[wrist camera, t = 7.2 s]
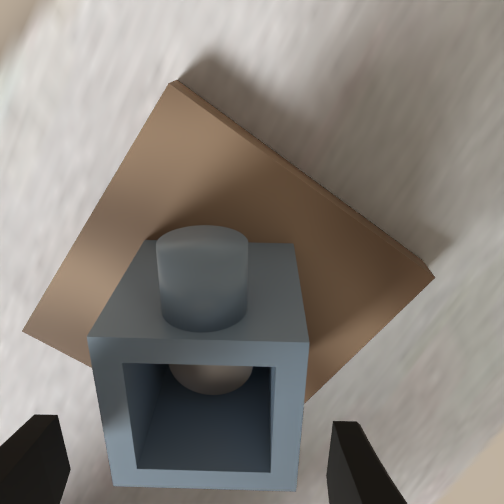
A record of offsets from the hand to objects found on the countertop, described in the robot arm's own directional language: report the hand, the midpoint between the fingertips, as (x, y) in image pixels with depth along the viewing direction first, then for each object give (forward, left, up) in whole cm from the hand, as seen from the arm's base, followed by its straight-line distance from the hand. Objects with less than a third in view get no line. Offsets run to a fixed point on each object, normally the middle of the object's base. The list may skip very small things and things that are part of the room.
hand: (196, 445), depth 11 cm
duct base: (0, 0, -8) cm, 8 cm away
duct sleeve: (0, 0, -7) cm, 7 cm away
